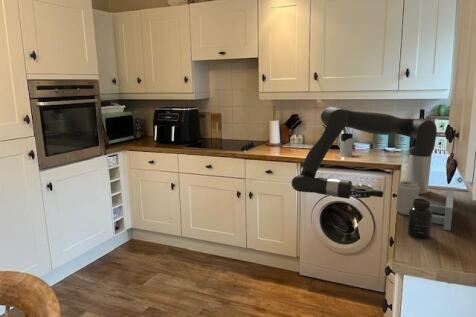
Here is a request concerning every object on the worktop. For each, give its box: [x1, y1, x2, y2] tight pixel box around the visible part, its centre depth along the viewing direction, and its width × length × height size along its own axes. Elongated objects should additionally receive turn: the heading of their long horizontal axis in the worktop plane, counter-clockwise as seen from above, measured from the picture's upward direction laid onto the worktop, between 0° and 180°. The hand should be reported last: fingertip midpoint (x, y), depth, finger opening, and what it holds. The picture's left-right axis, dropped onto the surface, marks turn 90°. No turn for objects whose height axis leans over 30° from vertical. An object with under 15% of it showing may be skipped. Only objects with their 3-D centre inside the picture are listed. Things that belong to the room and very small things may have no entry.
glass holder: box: [336, 132, 354, 158], centre depth 256 cm, size 9×14×15 cm, turn 24°
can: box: [395, 180, 420, 216], centre depth 142 cm, size 8×8×12 cm
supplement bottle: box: [407, 198, 433, 240], centre depth 121 cm, size 7×7×12 cm
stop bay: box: [429, 189, 454, 231], centre depth 137 cm, size 24×10×8 cm, turn 150°
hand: (382, 194), depth 146 cm, fingers closed
